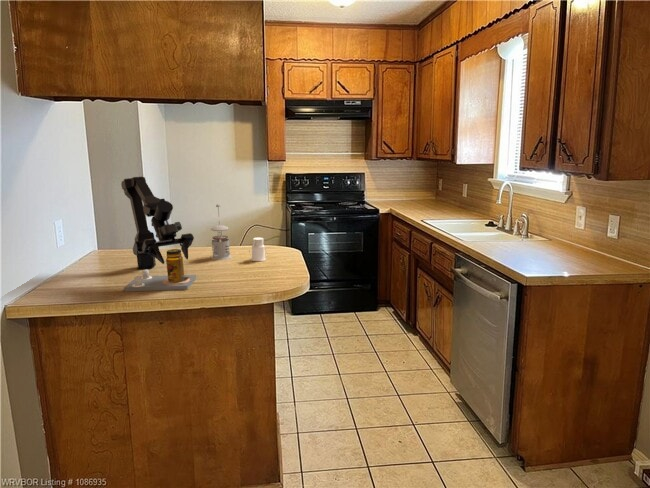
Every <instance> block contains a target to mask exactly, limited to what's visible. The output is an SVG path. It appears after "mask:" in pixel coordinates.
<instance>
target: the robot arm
mask: <svg viewBox="0 0 650 488" xmlns="http://www.w3.org/2000/svg"><path fill="white" fill-rule="evenodd" d="M120 185H121V189H122V190H123V193H124V195H125V196H126V198H128V200H129V201H130V205H131V210H132V214H133V219H134V224H135V228H136V229H135V230H136V234H135V237H134V243H133V246H132V253H133V255H134V256H136V259H137V261H136V262H137V266H136V270H149V269H150V270H151V269H153V268H154V267H155V266H156V265H157V264H156V263H157V261H158V262H160V263H161V264H162V265H165V264H166V262H165V260H164V256H163V255H162V253H161V251H160V247H168V246H173V245H179V246H180V250H181V253H182V254H183V256H184V258H185V259H186V260H189V248H190V247H191V246H192V243H193V242H194V239H195V237H194V234H192V232H191V233H188V232H187V233H183V234H181V235H180V238H176V237H177V233H178V232H180V231H181V230H183V228H182V227H183V226H182V223H181V222H180V221H176V222H174V223H169V219H170V218H171V214H172V211H173V209H174V206H173V204H172V203H171V202H170V201H168V200H165V198H159V197H156V196H155V195H154V193H153V191H152V190H151V188H150V187H149V185H148V183H147V181H146V177H145V176H133V177H131V178H129V177H127V178H123V180H122V181H121V184H120ZM149 217H151V219H150V223H151V227H153V229H154V231H155V234H154V232H153V231H152V232H151V230H149V227H148V223H147V218H149ZM155 237H156V238H157V240H158V241H157V240H156V238H155ZM156 259H157V261H156Z"/></svg>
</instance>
